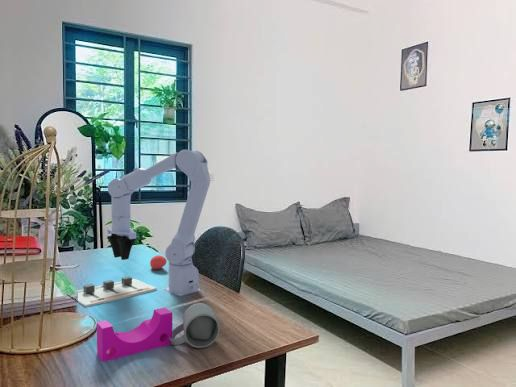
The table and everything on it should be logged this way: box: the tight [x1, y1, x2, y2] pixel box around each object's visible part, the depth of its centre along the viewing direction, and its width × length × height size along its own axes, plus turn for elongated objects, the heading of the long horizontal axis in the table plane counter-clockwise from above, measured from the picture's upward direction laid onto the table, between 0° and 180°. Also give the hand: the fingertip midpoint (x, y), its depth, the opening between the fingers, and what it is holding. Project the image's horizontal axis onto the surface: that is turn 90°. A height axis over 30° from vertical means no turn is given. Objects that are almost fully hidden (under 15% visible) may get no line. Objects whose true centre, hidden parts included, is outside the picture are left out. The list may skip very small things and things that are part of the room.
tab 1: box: [82, 283, 96, 294], centre depth 116 cm, size 2×2×2 cm
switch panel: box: [76, 278, 158, 308], centre depth 119 cm, size 14×22×2 cm, turn 136°
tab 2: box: [102, 279, 115, 289], centre depth 120 cm, size 2×2×2 cm
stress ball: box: [149, 255, 168, 270], centre depth 146 cm, size 5×9×6 cm, turn 27°
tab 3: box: [121, 276, 133, 285], centre depth 124 cm, size 2×2×2 cm
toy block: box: [96, 307, 173, 363], centre depth 84 cm, size 15×6×8 cm, turn 128°
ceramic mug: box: [169, 302, 220, 349], centre depth 88 cm, size 11×8×8 cm
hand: (121, 258), depth 126 cm, fingers open, 4 cm apart
